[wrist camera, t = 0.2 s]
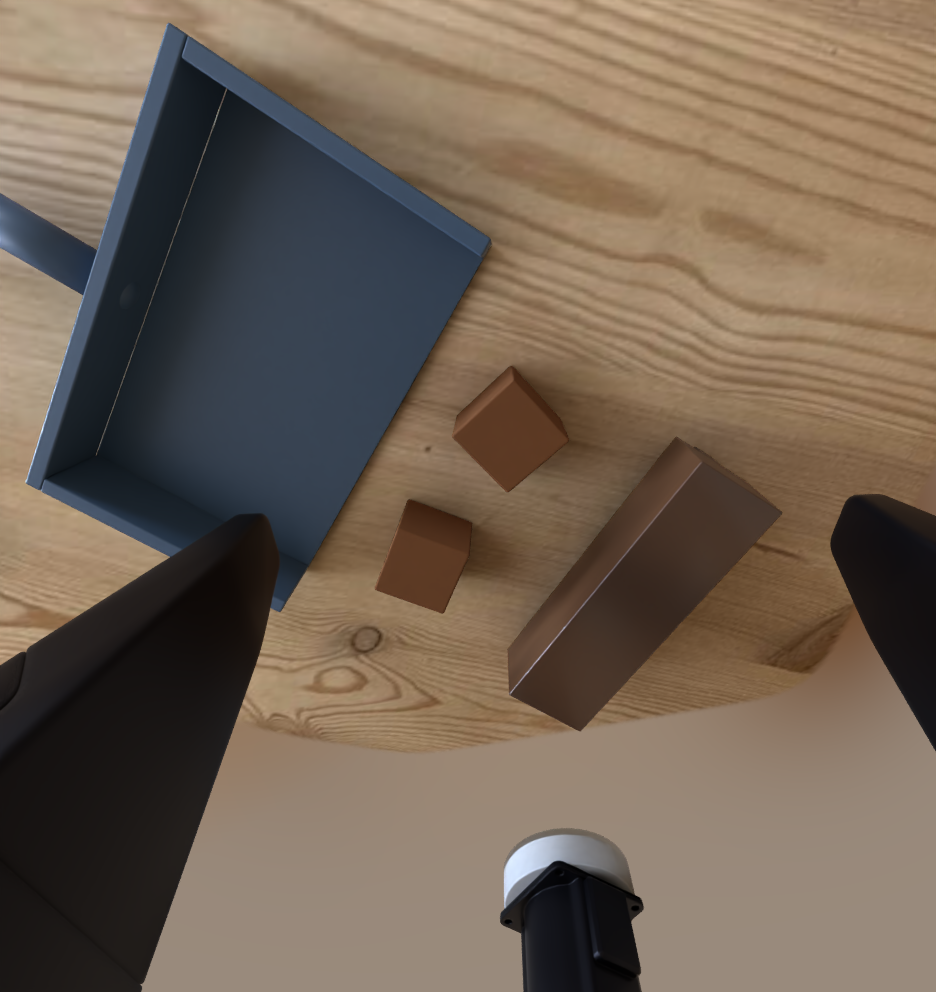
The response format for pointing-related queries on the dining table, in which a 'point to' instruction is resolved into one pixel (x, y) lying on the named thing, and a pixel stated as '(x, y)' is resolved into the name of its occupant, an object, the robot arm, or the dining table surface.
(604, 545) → the brown long block
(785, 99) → the dining table surface
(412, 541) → the crumb
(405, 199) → the dustpan
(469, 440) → the crumb
